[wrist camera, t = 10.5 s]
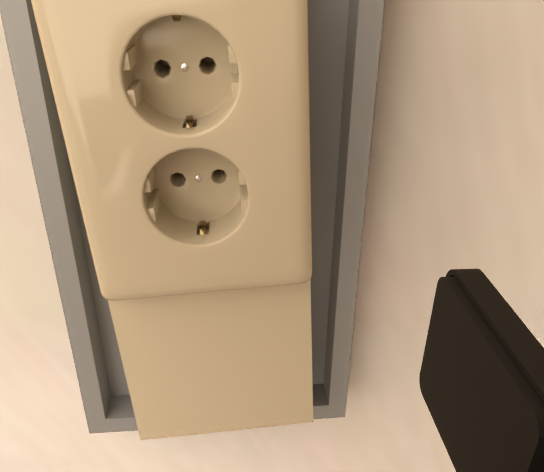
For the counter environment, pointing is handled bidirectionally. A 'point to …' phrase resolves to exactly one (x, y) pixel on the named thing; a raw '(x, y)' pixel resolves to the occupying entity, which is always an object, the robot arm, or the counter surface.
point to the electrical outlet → (194, 198)
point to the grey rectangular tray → (324, 202)
